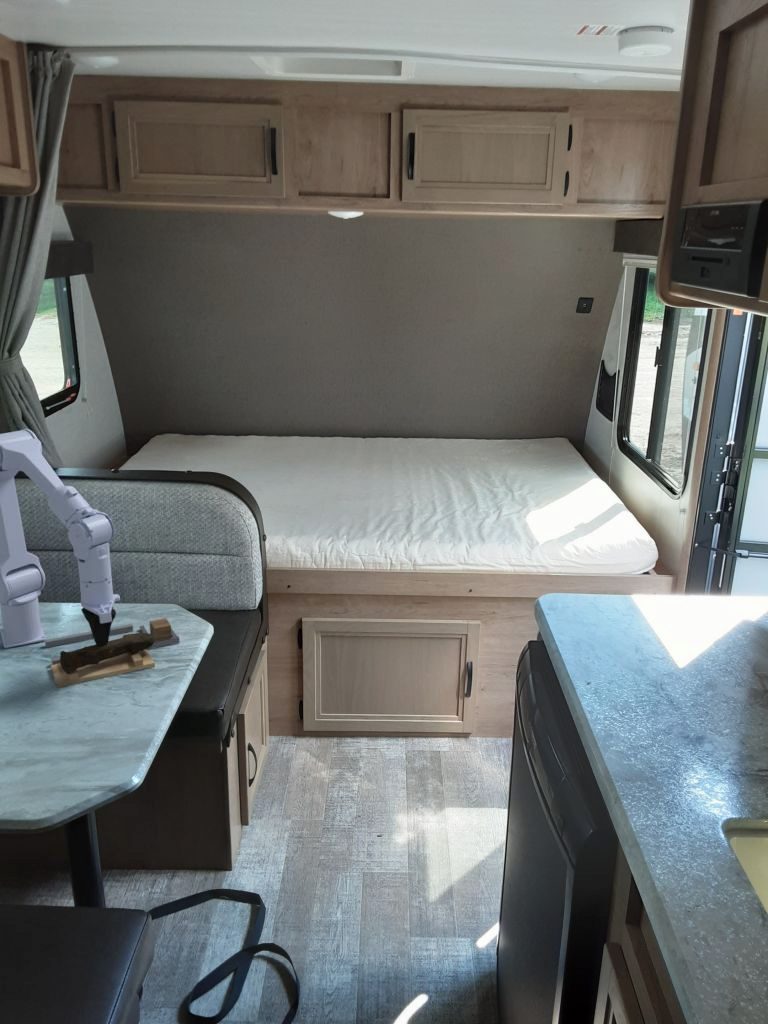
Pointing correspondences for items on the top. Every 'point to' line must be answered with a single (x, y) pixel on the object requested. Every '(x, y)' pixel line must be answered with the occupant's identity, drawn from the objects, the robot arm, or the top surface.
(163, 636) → the key block
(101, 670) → the rack
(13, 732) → the top surface
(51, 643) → the socket channel
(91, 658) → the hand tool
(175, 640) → the key guide
